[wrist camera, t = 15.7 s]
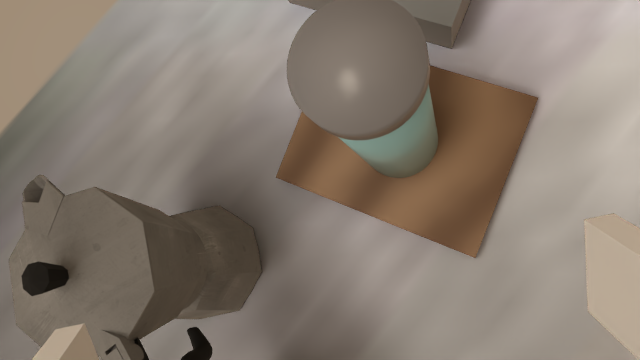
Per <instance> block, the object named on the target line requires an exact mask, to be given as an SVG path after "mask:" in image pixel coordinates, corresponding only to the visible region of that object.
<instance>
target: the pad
mask: <svg viewBox="0 0 640 360" xmlns="http://www.w3.org/2000/svg"><path fill="white" fill-rule="evenodd" d="M429 89H430V94H431V100H432V105H433V111H434V116H435V122H436V127H437V133H438V146H437V150H436V153H435V155H434V157H433V159H432V161H431V162H430V163H429V164H428V166H427V167H425V168H424V169H423V170H422V171H420V172H419V173H417V174H415V175H412V176H409V177H405V178H393V177H388V176H385V175H383V174H381V173H379V172H378V171H376V170H375V169H374V168H373V167H371V166H370V165H369V164H368V163H367V162H366V161H365V160H363V159H362V158H361V157H360V156H359V155H358V154H357V153H355V152H354V151H353V150H352V149H351V148H350V147H349V146H348V145H346V144H345V143H344V142H343V141H342V140H341V139H340V138H338V137H336V136H334V135H332V134H330V133H328V132H326V131H325V130H323V129H322V128H321V127H319V126H318V125H317V124H316V123H314V122H313V121H312V120H311V119H310V118H309V117H307V116H306V115H305V114H304V113H303V112H302V113H301V115H300V118H299V120H298V123H297V125H296V128H295V130H294V133H293V135H292V138H291V140H290V143H289V145H288V148H287V150H286V153H285V155H284V158H283V160H282V163H281V165H280V168H279V170H278V173H277V175H276V178H279V179H281V180H284V181H286V182H288V183H291V184H293V185H296V186H298V187H301V188H303V189H306V190H308V191H311V192H313V193H316V194H318V195H321V196H323V197H326V198H328V199H331V200H333V201H335V202H338V203H340V204H343V205H345V206H348V207H350V208H353V209H355V210H358V211H360V212H363V213H365V214H368V215H370V216H373V217H375V218H378V219H380V220H382V221H385V222H387V223H390V224H392V225H395V226H397V227H400V228H402V229H405V230H407V231H410V232H412V233H415V234H417V235H420V236H422V237H425V238H427V239H429V240H432V241H434V242H437V243H439V244H442V245H444V246H447V247H449V248H452V249H454V250H457V251H459V252H462V253H464V254H467V255H469V256H472V257H474V258H475V257H476V255H477V252H478V250H479V247H480V245H481V242H482V239H483V237H484V234H485V232H486V229H487V227H488V224H489V222H490V219H491V217H492V214H493V212H494V209H495V206H496V204H497V201H498V199H499V196H500V194H501V191H502V189H503V186H504V184H505V181H506V179H507V176H508V173H509V171H510V168H511V166H512V163H513V161H514V158H515V156H516V153H517V151H518V148H519V146H520V143H521V140H522V138H523V135H524V133H525V130H526V128H527V125H528V123H529V120H530V118H531V115H532V113H533V110H534V107H535V105H536V102H537V100H538V98H537V97H534V96H531V95H527V94H524V93H521V92H517V91H514V90H511V89H507V88H504V87H501V86H497V85H494V84H491V83H487V82H484V81H480V80H477V79H474V78H470V77H467V76H464V75H460V74H457V73H454V72H450V71H447V70H444V69H440V68H437V67H434V66H430V78H429Z"/></svg>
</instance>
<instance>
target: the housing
mask: <svg viewBox="0 0 640 360" xmlns="http://www.w3.org/2000/svg"><path fill="white" fill-rule="evenodd" d="M288 1H289V2H290V3H293V4H297V5H300V6H304V7H307V8H311V9H314V10H318V9H320V8H321V7H323V6H324V5H326V4H328V3H330V2H332V1H334V0H288ZM392 1H394V2H396V3H398V4H399V5H401V6H402V7H404V8H405V9H406V10H407V11H408V12H409V13H411V15H412V16H413V17H414V18H415V19H416V21H417V22H418V24H419V26H420V27H421V29H422V32H423V34H424V37H425V40H426V42H430V43H433V44H437V45H440V46H444V47H447V48H451V49H452V47H453V44H454V42H455V39H456V37H457V34H458V32H459V29H460V26H461V24H462V21H463V19H464V16H465V14H466V11H467V9H468V6H469V4H470V1H471V0H392Z"/></svg>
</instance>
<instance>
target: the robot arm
mask: <svg viewBox="0 0 640 360" xmlns="http://www.w3.org/2000/svg"><path fill="white" fill-rule="evenodd" d="M584 227H585V252H586V277H587V302H588V312H589V313H590V314H591V315H592V316H593V317H594V318H595V319H596V320H597V321H598V322H599V323H601V324H602V325H603V326H604V327H605V328H606V329H607V330H608V331H609V332H610V333H611V334H612V335H613V336H614V337H615V338H616V339H617V340H618V341H619V342H620V343H621V344H623V345H624V346H625V347H626V348H627V349H628V350H629V351H630V352H631V353H632V354H633V355H634V356H635V357H636V358H637V359H638V360H640V228H638V227H636V226H635V225H633V224H631V223H629V222H628V221H626V220H624V219H622V218H621V217H619V216H617V215H615V214H614V213H613V214H609V215H604V216H599V217H594V218H589V219H585V220H584ZM32 360H99V358H98V356H97V353H96V351H95V348H94V346H93V343H92V341H91V338H90V336H89V333H88V331H87V328H86V326H85V323H84V324H79V325H74V326H69V327H64V328H60V329H55V331H54V332H53V333H52V335H51V336H50V337H49V338H48V340H47V341H46V342H45V343H44V345H43V346H42V347H41V349H40V350H39V351H38V352H37V354H36V355H35V356H34V358H33V359H32Z"/></svg>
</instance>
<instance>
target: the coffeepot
mask: <svg viewBox="0 0 640 360" xmlns="http://www.w3.org/2000/svg"><path fill="white" fill-rule="evenodd" d="M23 198H24V202H22V206H23V214H24V222H25V229H26V230H25V231H24V233H23V235H22V237H21V239H20V240H19V242H18V244H17V246H16V247H15V249H14V251H13V253H12V255H11V256H10V258H9V267H10V275H11V284H12V293H13V301H14V310H15V318H16V325H17V326H18V327H19V328H20V329H21V330H22V331H24V332H25V333H26V334H27V335H28V336H29V337H30V338H32V339H33V340H34V341H35V342H36V343H37V344H38V345H39V346H41V347H42V346H43V345H44V343H45V342H46V341H47V340H48V338H49V337H50V336H51V335H52V333H53V332H54V331H55V329H60V328H64V327H69V326H74V325H79V324H84V323H85V326H86V328H87V331H88V333H89V336H90V338H91V341H92V343H93V346H94V348H95V351H96V353H97V356H98V357H99V356H100V357H101V359H102V360H149V359H148V356H147V354H146V352H145V350H144V348H143V346H142V344H141V342H140V340H139V339H141V338H143V337H144V336H146V335H148V334H149V333H151V332H153V331H154V330H156V329H158V328H159V327H161V326H163V325H165V324H166V323H168V322H170V321H171V320H173V319H203V318H207V317H212V316H216V315H220V314H225V313H229V312H234V311H238V310H240V309H241V307H242V305H243V304H244V302H245V300H246V299H247V297H248V296H249V294H250V293H251V292H252V290H253V288H254V286H255V284H256V281H257V280H258V278H259V276H260V274H261V273H262V269H261V263H260V256H259V249H258V245H257V242H256V239H255V236H254V231H253V228H252V227H251V226H249V225H248V224H246V223H245V222H243V221H242V220H241V219H240V218H238V217H237V216H235V215H233V214H231V213H230V212H228V211H227V210H225V209H224V208H222V207H221V206H214V207H209V208H204V209H200V210H195V211H190V212H185V213H180V214H176V215H171V216H168V215H166V214H165V213H163V212H161V211H160V210H158V209H155V208H152V207H149V206H146V205H144V204H141V203H138V202H135V201H133V200H130V199H127V198H124V197H121V196H119V195H116V194H113V193H110V192H108V191H105V190H102V189H99V188H97V187H93V188H90V189H87V190H83V191H80V192H77V193H74V194H70V195H67V196H65V195H64V194H63V193H62V192H61V191H60V190H59V189H58V188H56V187H55V186H54V185H53V184H52V183H51V182H50V181H49V180H48V179H47V178H46V177H45V176H44V175H38V176H37V177H36V178H35V179H34V180H32V181H31V182H30V183H29V184H28V185H27V186H26V188H25V190H24V192H23ZM187 332H188V335H189V337H190V340H191V343H192V346H193V350H192V351H190V352H188V353H187V354H186V355H184V356H183V357H182V358H181V360H209V359H210V358H211V356H212V347H211V345H210V343H209V342H208V340H207V339H206V337H205V336H204V335H203V334H202V332H201V331H200V330H199V329H198V328H197V327H193V328H189V329H188V330H187Z"/></svg>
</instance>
